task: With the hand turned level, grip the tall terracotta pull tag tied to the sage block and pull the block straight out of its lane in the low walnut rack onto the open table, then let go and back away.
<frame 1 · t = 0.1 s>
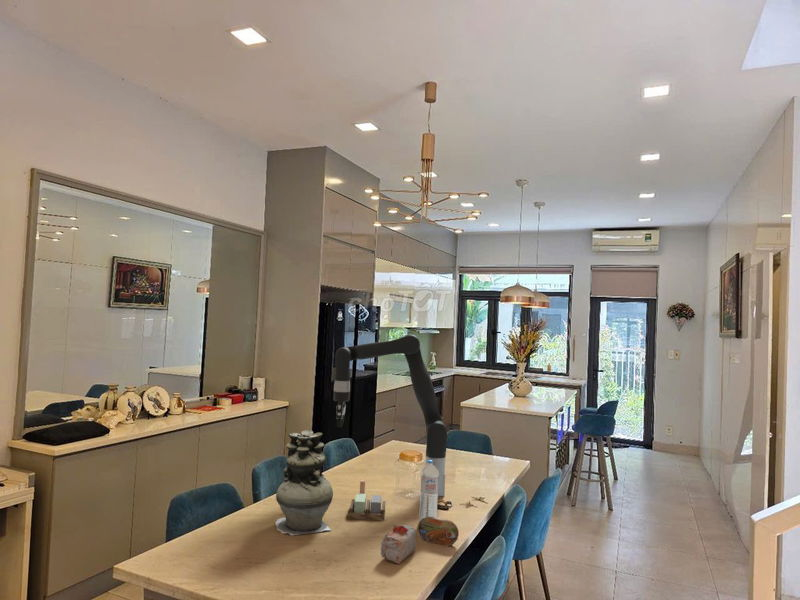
hand: (340, 425, 246), 29 cm above the table, tool pointing down, fingers open, 8 cm apart
sage block: (359, 512, 216), on the table
lane rack: (367, 513, 216), on the table
tin: (437, 543, 190), on the table
food item: (398, 557, 177), on the table
slate block: (375, 513, 216), resting in lane rack
decorative urn: (303, 526, 199), on the table
water bottle: (427, 526, 205), on the table
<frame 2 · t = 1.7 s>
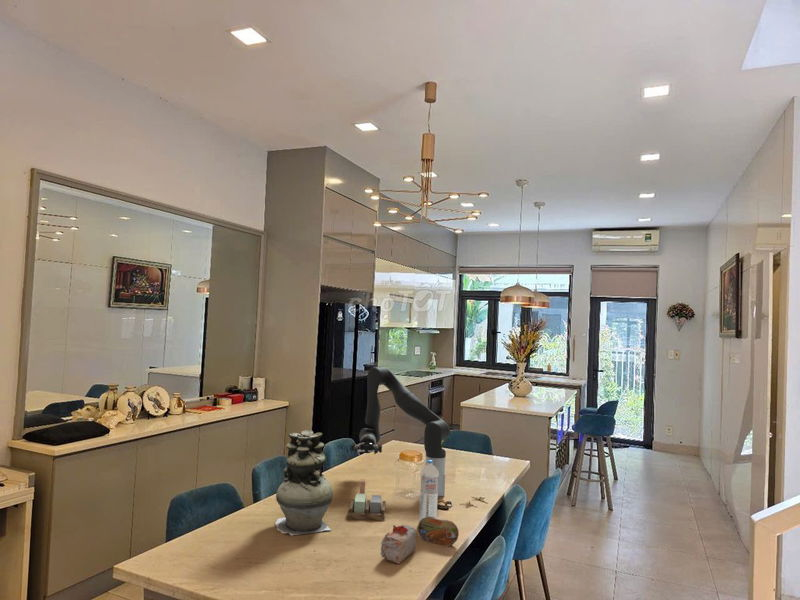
hand: (365, 451, 238), 20 cm above the table, tool horizontal, fingers open, 8 cm apart
nothing on the table moved.
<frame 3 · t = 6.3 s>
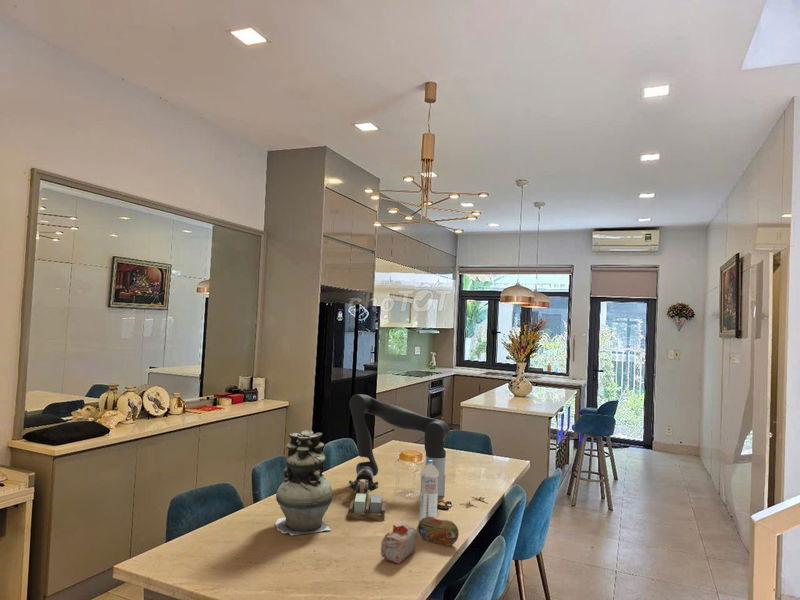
hand: (361, 490, 223), 7 cm above the table, tool horizontal, fingers closed on sage block, 2 cm apart
sage block: (359, 512, 216), on the table, touching gripper
everything else where it was.
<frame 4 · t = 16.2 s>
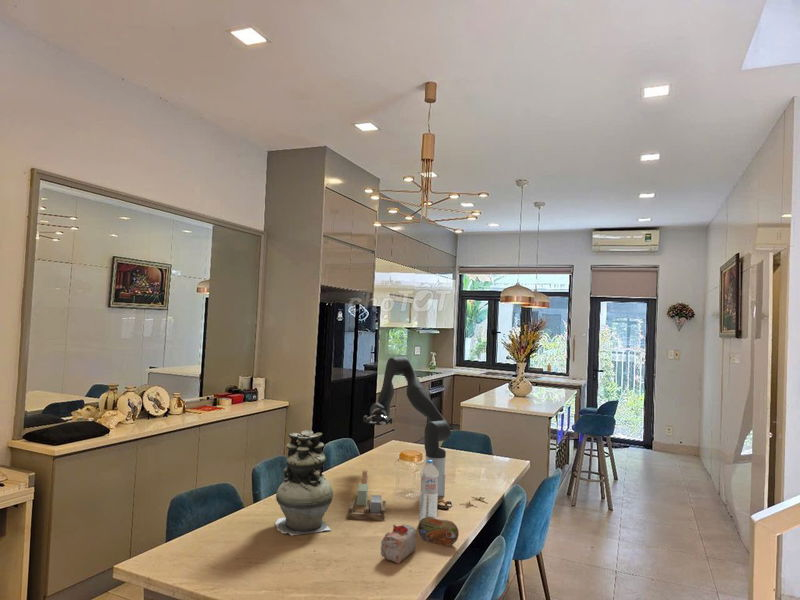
hand: (377, 422, 255), 30 cm above the table, tool horizontal, fingers open, 8 cm apart
sage block: (362, 501, 230), on the table
everything else where it was.
at the end: sage block inside the target area (0.4 cm from its centre), on the table; sage block tilted 0°; the gripper is holding nothing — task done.
